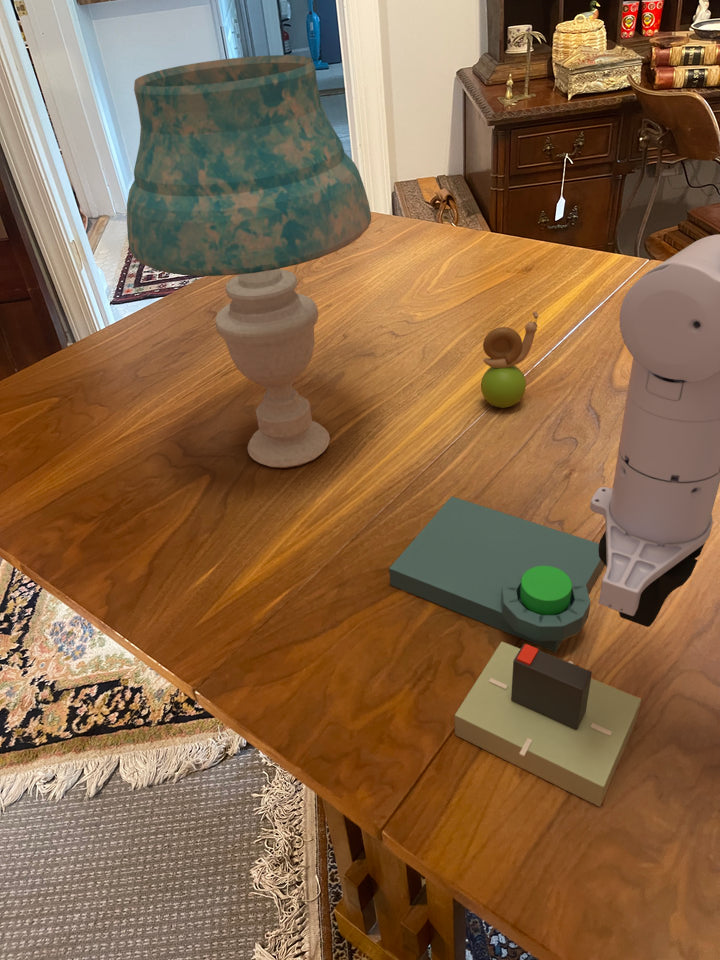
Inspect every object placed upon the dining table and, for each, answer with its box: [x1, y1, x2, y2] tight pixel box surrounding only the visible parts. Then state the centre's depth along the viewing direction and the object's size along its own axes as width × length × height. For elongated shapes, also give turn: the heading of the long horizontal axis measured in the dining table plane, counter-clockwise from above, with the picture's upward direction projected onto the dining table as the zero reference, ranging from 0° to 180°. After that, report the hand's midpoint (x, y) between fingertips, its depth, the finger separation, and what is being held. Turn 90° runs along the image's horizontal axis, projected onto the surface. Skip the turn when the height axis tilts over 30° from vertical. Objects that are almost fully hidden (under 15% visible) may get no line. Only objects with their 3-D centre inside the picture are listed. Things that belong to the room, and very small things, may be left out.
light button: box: [520, 566, 572, 615], centre depth 60 cm, size 4×4×2 cm
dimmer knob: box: [511, 643, 593, 730], centre depth 52 cm, size 5×2×5 cm, turn 56°
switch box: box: [388, 495, 605, 653], centre depth 66 cm, size 18×13×4 cm
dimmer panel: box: [454, 641, 642, 807], centre depth 54 cm, size 11×9×3 cm
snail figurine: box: [480, 311, 539, 409], centre depth 88 cm, size 5×6×12 cm
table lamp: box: [126, 54, 372, 469], centre depth 76 cm, size 24×24×40 cm
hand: (637, 615), depth 50 cm, fingers closed
